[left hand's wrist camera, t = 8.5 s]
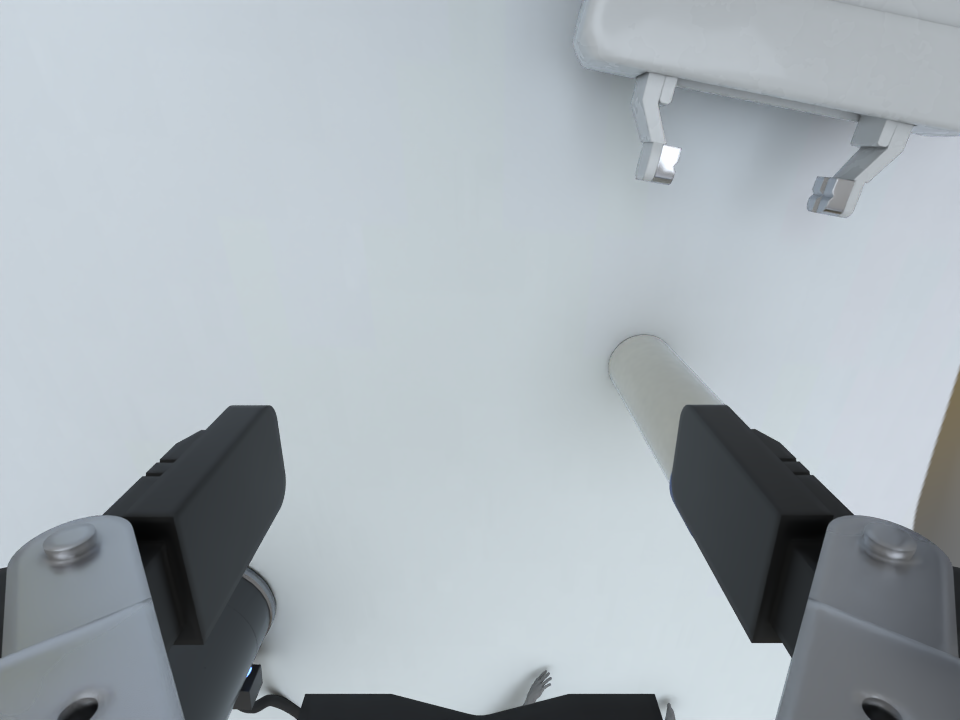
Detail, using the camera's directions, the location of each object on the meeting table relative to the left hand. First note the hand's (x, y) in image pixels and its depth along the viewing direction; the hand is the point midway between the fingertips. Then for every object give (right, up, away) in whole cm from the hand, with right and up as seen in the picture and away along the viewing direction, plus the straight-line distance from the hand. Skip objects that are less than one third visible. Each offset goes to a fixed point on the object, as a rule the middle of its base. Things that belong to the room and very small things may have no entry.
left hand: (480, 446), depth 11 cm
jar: (+11, +1, +28) cm, 30 cm away
